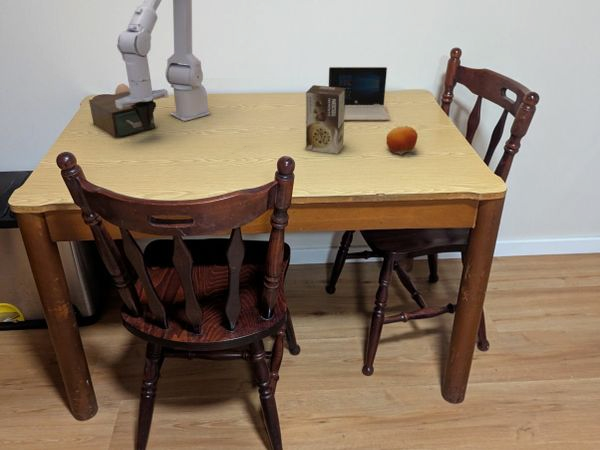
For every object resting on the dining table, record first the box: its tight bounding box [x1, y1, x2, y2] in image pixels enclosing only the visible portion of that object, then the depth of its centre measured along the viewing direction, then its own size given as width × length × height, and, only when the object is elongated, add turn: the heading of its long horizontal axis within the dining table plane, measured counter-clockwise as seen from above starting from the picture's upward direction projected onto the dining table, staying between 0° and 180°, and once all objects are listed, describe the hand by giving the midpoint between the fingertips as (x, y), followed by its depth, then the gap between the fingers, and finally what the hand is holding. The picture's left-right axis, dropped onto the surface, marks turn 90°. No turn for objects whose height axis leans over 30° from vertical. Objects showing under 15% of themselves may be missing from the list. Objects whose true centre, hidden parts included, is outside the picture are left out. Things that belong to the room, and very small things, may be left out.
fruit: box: [386, 125, 418, 156], centre depth 148 cm, size 8×8×8 cm
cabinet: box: [88, 91, 156, 139], centre depth 163 cm, size 14×12×7 cm
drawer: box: [114, 111, 156, 137], centre depth 160 cm, size 18×11×6 cm, turn 42°
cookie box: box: [305, 84, 346, 155], centre depth 147 cm, size 9×6×16 cm
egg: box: [114, 83, 130, 94], centre depth 179 cm, size 5×5×7 cm
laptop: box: [328, 66, 390, 122], centre depth 171 cm, size 18×12×13 cm
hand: (146, 127), depth 154 cm, fingers closed, pressing on drawer
